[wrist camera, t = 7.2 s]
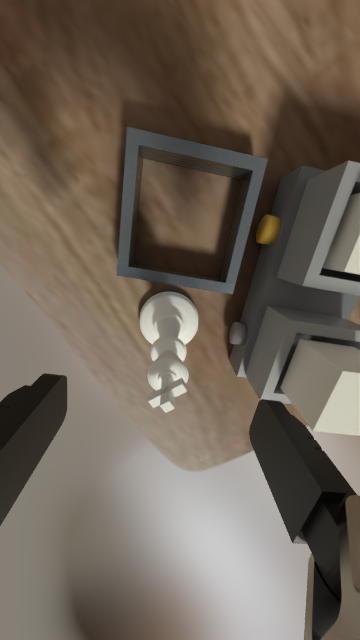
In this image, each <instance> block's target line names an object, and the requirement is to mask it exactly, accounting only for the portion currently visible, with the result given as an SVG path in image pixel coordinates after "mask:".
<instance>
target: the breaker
mask: <svg viewBox="0 0 360 640" xmlns="http://www.w3.org/2000/svg"><path fill="white" fill-rule="evenodd" d="M280 388H281V389H282V391H283V392H284V393H285V395H286V396H287V397H288V399H289V400H290V401H291V403H292V404H293V405H294V407H295V408H296V409H297V411H298V412H299V413H300V415H301V416H302V417H303V419H304V420H305V421H306V422H307V424H308V425H309V426H310V428H311V429H312V430H313V431H319V432H329V433H338V434H348V435H358V436H360V350H359V349H357V348H355V347H352V346H345V345H338V344H331V343H325V342H318V341H311V340H304V339H300V340H299V342H298V345H297V347H296V350H295V352H294V355H293V357H292V360H291V362H290V365H289V367H288V370H287V372H286V375H285V377H284V380H283V382H282V385H281V387H280Z"/></svg>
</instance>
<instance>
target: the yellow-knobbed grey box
mask: <svg viewBox="0 0 360 640" xmlns="http://www.w3.org/2000/svg"><path fill="white" fill-rule="evenodd" d="M357 193H360V163H357V162H353V161H346V162H344V163H342V164H340V165H338V166H336V167H334V168H331V169H329V170H327V171H326V170H321V169H317V168H313V167H308V166H304V165H302V166H300V167H298V168H297V169H295V170H293V171H292V172H290V173H288V174H287V175H285V176H283V177H281V180H280V183H279V187H278V190H277V194H276V197H275V201H274V204H273V208H272V211H271V215H265V216H264V217H263V218H262V219H261V221H260V223H259V226H258V228H257V232H256V241H257V243H262V246H261V250H260V253H259V257H258V260H257V264H256V267H255V271H254V274H253V278H252V281H251V285H250V288H249V292H248V295H247V299H246V302H245V306H244V309H243V313H242V316H241V320H240V322H233V323H232V325H231V328H230V333H229V339H230V343H231V344H233V348H232V352H231V355H230V359H229V361H230V363H231V365H232V367H233V369H234V371H235V373H236V375H237V376H238V377H246V378H248V380H249V382H250V383H251V385H252V387H253V389H254V390H255V392H256V394H257V396H258V397H259V399H260V400H261V399H266V400H274V401H280V402H282V403H287V404H292V403H291V401H290V400H289V399H288V397H287V396H286V395H285V393H284V392H283V391H282V389H281V388H280V387H281V385H282V382H283V380H284V377H285V375H286V372H287V370H288V367H289V365H290V362H291V360H292V357H293V355H294V352H295V350H296V347H297V345H298V342H299V340H300V339H304V340H311V341H318V342H325V343H331V344H338V345H345V346H352V347H355V348H357V349H359V350H360V325H358V324H356V323H354V322H351V321H349V318H350V316H351V313H352V311H353V309H354V307H355V305H356V303H357V301H358V298H359V296H360V275H357V274H351V273H346V272H340V271H335V270H329V269H324V268H322V267H323V264H324V262H325V259H326V256H327V254H328V251H329V249H330V246H331V244H332V241H333V238H334V236H335V233H336V231H337V228H338V226H339V223H340V220H341V218H342V215H343V213H344V210H345V208H346V205H347V202H348V200H349V197H350V195H353V194H357Z"/></svg>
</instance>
